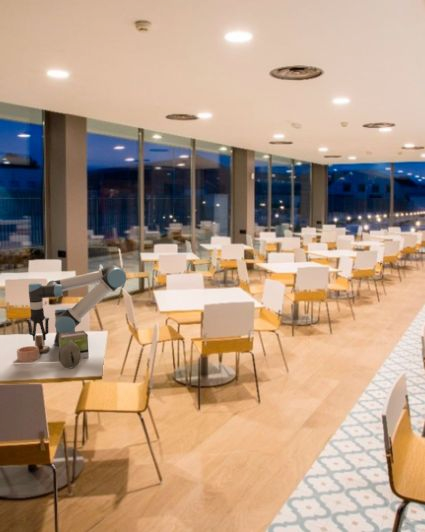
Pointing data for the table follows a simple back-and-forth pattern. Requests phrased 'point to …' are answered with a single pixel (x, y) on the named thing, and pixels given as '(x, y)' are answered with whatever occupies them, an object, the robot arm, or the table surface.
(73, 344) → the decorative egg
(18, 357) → the bowl
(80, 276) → the robot arm
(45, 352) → the mat
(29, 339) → the table surface
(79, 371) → the table surface
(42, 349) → the lid
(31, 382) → the table surface
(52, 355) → the table surface
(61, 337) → the tea box
